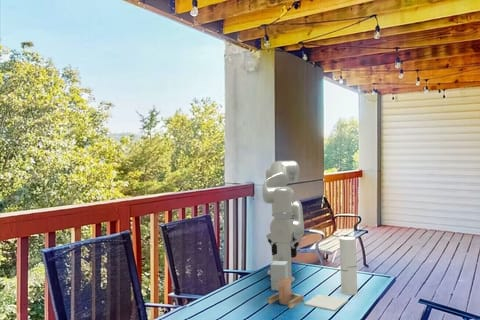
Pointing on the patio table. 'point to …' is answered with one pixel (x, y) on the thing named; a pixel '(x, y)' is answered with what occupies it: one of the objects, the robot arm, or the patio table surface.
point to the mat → (326, 302)
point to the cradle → (294, 301)
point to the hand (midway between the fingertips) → (284, 255)
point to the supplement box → (278, 273)
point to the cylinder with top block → (284, 290)
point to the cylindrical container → (348, 265)
